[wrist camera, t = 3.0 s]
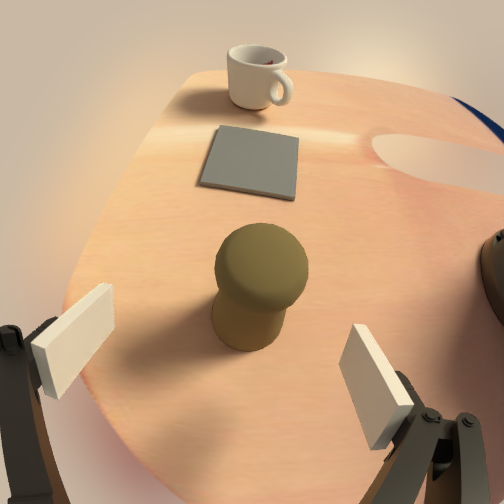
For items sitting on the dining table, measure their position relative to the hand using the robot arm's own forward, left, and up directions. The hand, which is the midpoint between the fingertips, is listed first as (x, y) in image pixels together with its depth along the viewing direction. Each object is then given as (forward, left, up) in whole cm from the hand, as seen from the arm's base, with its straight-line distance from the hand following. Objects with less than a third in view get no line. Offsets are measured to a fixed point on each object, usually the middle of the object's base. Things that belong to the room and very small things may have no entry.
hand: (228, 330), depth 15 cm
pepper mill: (-1, -4, -9) cm, 10 cm away
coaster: (+1, -22, -9) cm, 23 cm away
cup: (+2, -34, -9) cm, 35 cm away
